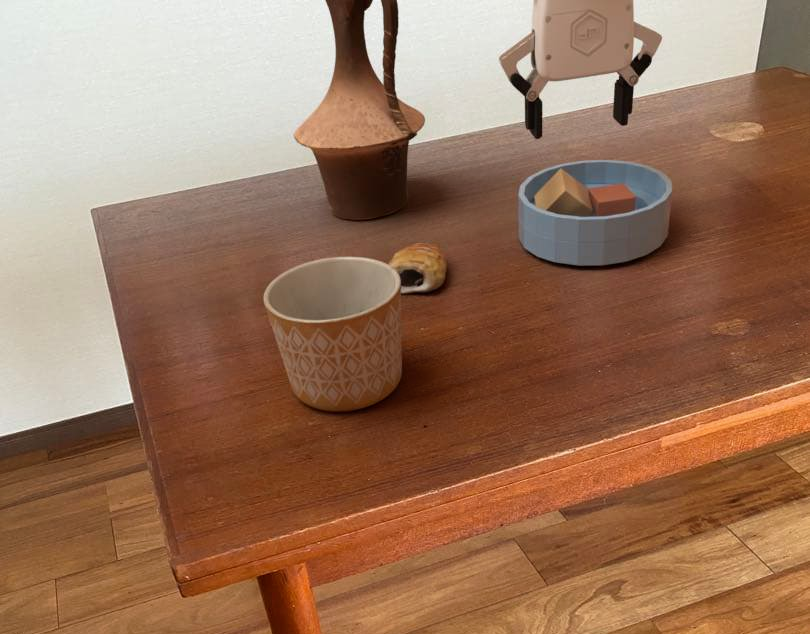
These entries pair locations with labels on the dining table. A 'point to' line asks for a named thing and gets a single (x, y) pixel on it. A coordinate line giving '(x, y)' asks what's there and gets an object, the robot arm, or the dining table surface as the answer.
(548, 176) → the bowl
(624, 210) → the block
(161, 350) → the dining table surface
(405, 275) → the pastry
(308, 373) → the planter
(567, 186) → the block
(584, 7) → the robot arm
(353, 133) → the pitcher
